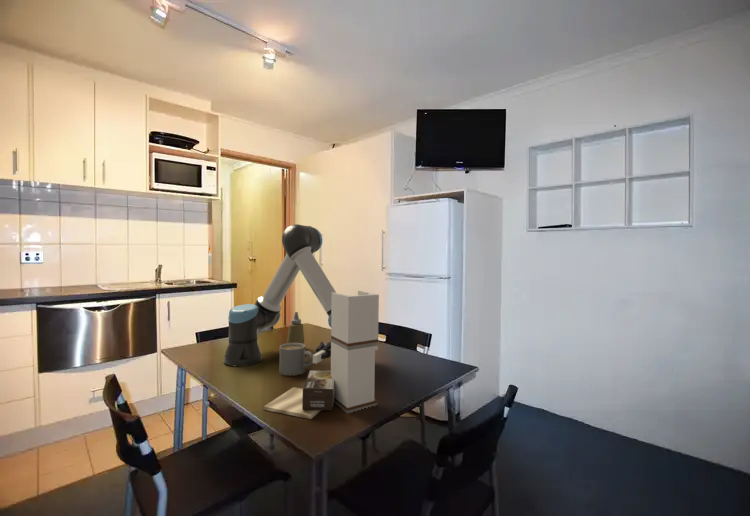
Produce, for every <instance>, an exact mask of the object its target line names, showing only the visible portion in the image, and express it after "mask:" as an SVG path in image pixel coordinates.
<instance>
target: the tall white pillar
mask: <svg viewBox="0 0 750 516" xmlns="http://www.w3.org/2000/svg"><path fill="white" fill-rule="evenodd" d="M379 299H380V295H379V294H376V293H372V292H368V291H363V290H362V291H361V290H358V291H357V295H350V294H341V293H338V292H336V293H334V292H333V293H332V303H331V327H330V342H331V357H330V371H331V377H332V378H333V379H334V380H335V392H334V402H333V404H335V405H337V406H338V408H340V409H341V410H343V412H345V414H351V413H355V412H358V410H359V411H362V410H361V409H363V410H365V409H364V408H366V409H369V408H368V407H370V408H372V407H371V406H374V405H377V406H378V399H377V398H375V385H376V384H375V382H376V381H375V380H376V379H375V375H376V374H375V373H376V372H375V370H376V367H375V366H376V361H375V360H376V351H378V350H379V310H380V309H379V308H380V307H379V306H380V301H379ZM374 407H375V406H374ZM354 411H355V412H354Z"/></svg>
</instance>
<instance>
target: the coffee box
mask: <svg viewBox="0 0 750 516" xmlns="http://www.w3.org/2000/svg"><path fill="white" fill-rule="evenodd" d="M302 389H303V396H302V410H321V411H332V410H333V407H334V392H335V380H334V379H333V378H332V377H331V370H309V373H308V375H307V378H306V381H305V383H304V386H303V388H302Z"/></svg>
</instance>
